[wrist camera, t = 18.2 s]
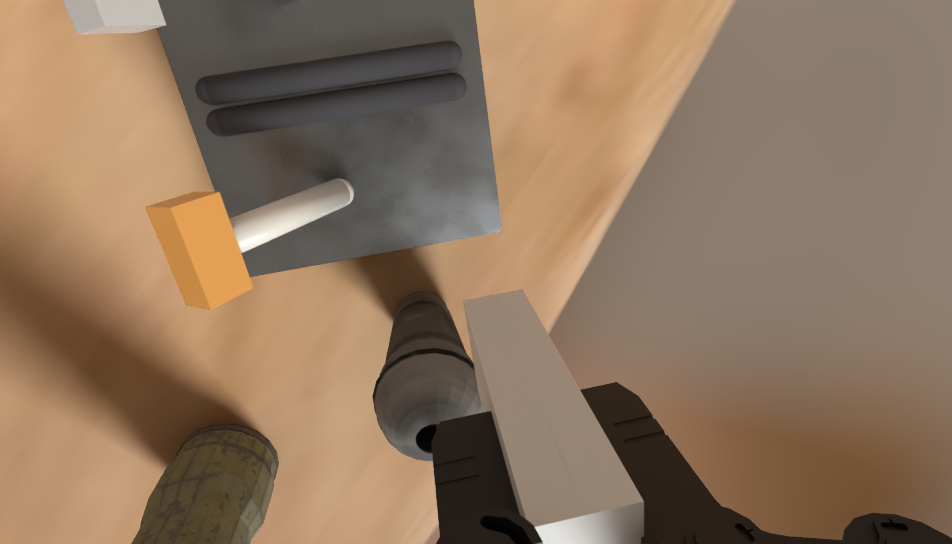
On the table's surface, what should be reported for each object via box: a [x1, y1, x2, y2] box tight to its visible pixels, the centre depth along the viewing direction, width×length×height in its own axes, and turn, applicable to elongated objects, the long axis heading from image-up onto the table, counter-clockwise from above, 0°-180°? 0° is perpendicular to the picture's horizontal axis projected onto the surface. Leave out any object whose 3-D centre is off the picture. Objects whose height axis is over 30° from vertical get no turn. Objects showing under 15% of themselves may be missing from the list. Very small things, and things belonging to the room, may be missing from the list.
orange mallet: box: [145, 178, 354, 310], centre depth 27 cm, size 2×5×12 cm
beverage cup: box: [373, 292, 483, 461], centre depth 33 cm, size 7×7×20 cm
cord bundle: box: [195, 40, 467, 137], centre depth 29 cm, size 16×3×2 cm, turn 98°
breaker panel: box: [157, 0, 502, 277], centre depth 33 cm, size 18×22×5 cm
